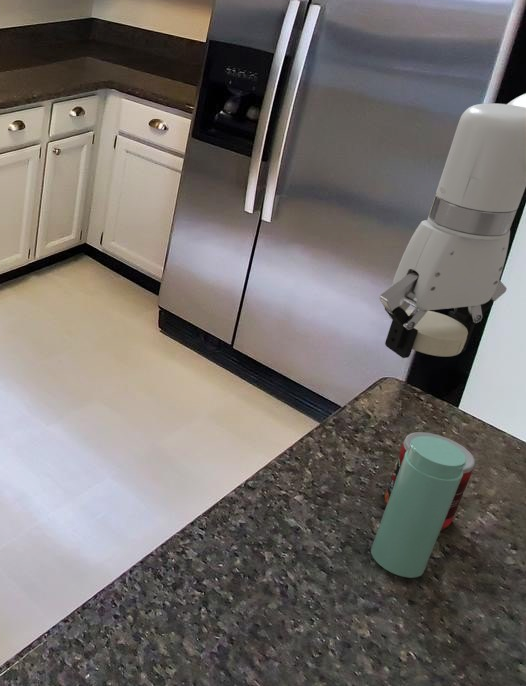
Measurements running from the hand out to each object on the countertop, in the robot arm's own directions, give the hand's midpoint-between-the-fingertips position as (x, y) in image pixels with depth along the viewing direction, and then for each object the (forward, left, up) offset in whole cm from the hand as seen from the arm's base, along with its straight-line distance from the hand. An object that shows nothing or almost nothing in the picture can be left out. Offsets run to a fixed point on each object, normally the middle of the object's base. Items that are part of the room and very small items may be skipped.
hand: (424, 347), depth 97 cm
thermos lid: (0, 0, +3) cm, 3 cm away
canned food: (-8, -3, -29) cm, 30 cm away
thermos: (-2, +6, -29) cm, 29 cm away
